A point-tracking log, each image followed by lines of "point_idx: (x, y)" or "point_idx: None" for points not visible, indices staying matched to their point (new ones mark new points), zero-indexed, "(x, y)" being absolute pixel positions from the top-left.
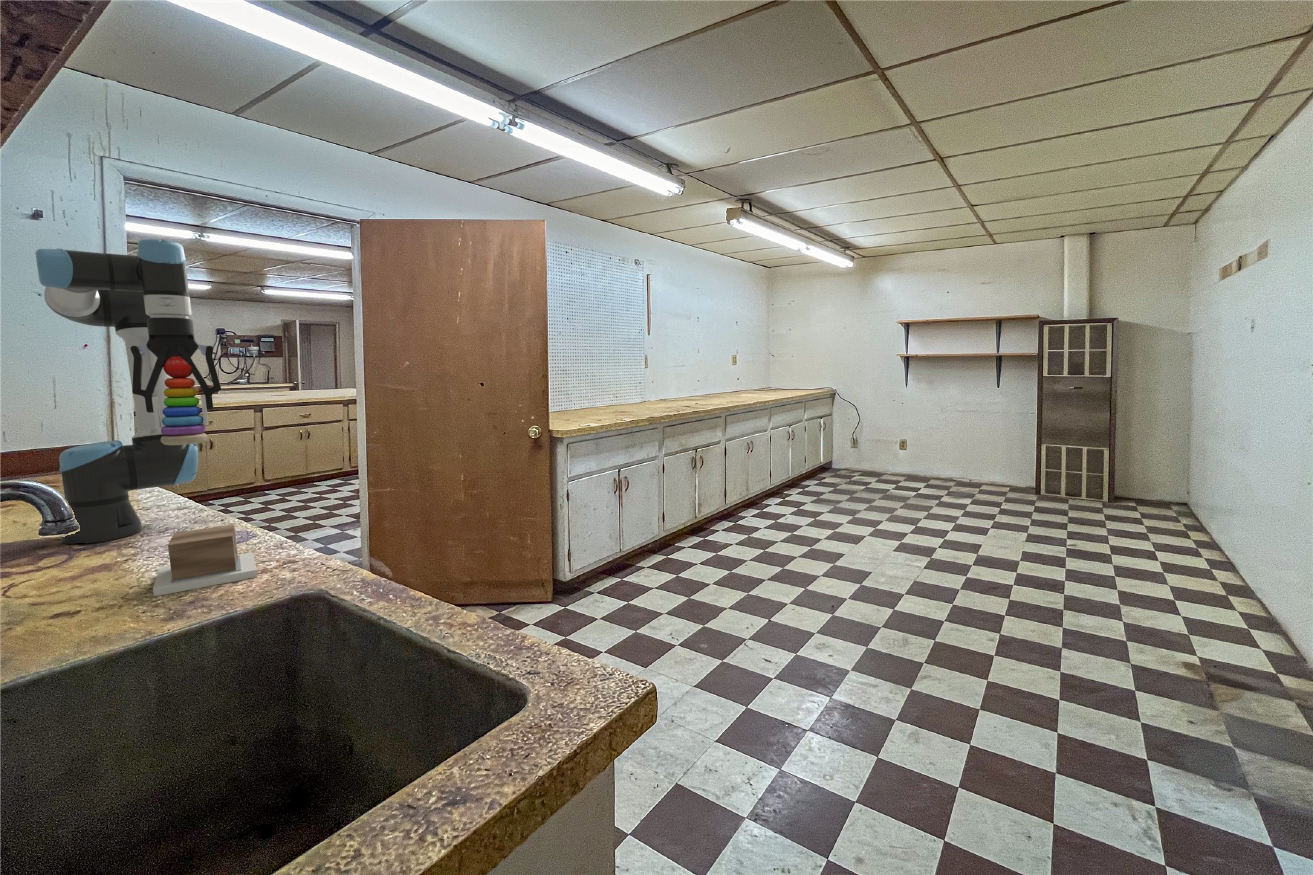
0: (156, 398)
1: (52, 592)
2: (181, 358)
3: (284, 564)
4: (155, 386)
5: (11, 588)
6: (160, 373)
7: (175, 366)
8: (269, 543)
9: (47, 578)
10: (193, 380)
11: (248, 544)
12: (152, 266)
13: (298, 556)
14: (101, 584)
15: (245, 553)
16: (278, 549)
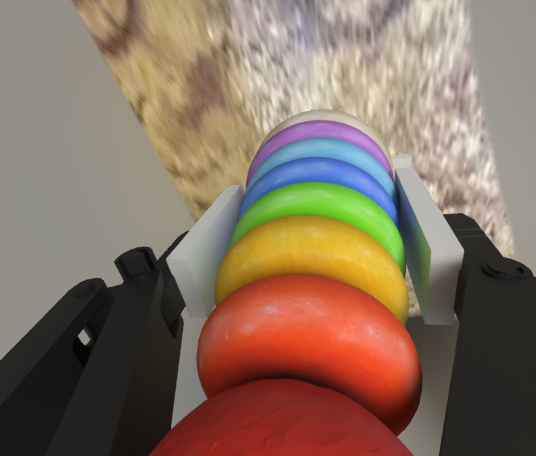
0: (210, 312)
1: (197, 172)
2: None
3: (445, 206)
4: (157, 327)
5: (143, 129)
6: (130, 431)
7: None
8: (446, 54)
9: (160, 102)
10: (414, 413)
11: (408, 39)
12: None
13: (472, 177)
14: (237, 169)
15: (400, 159)
16: (453, 114)
